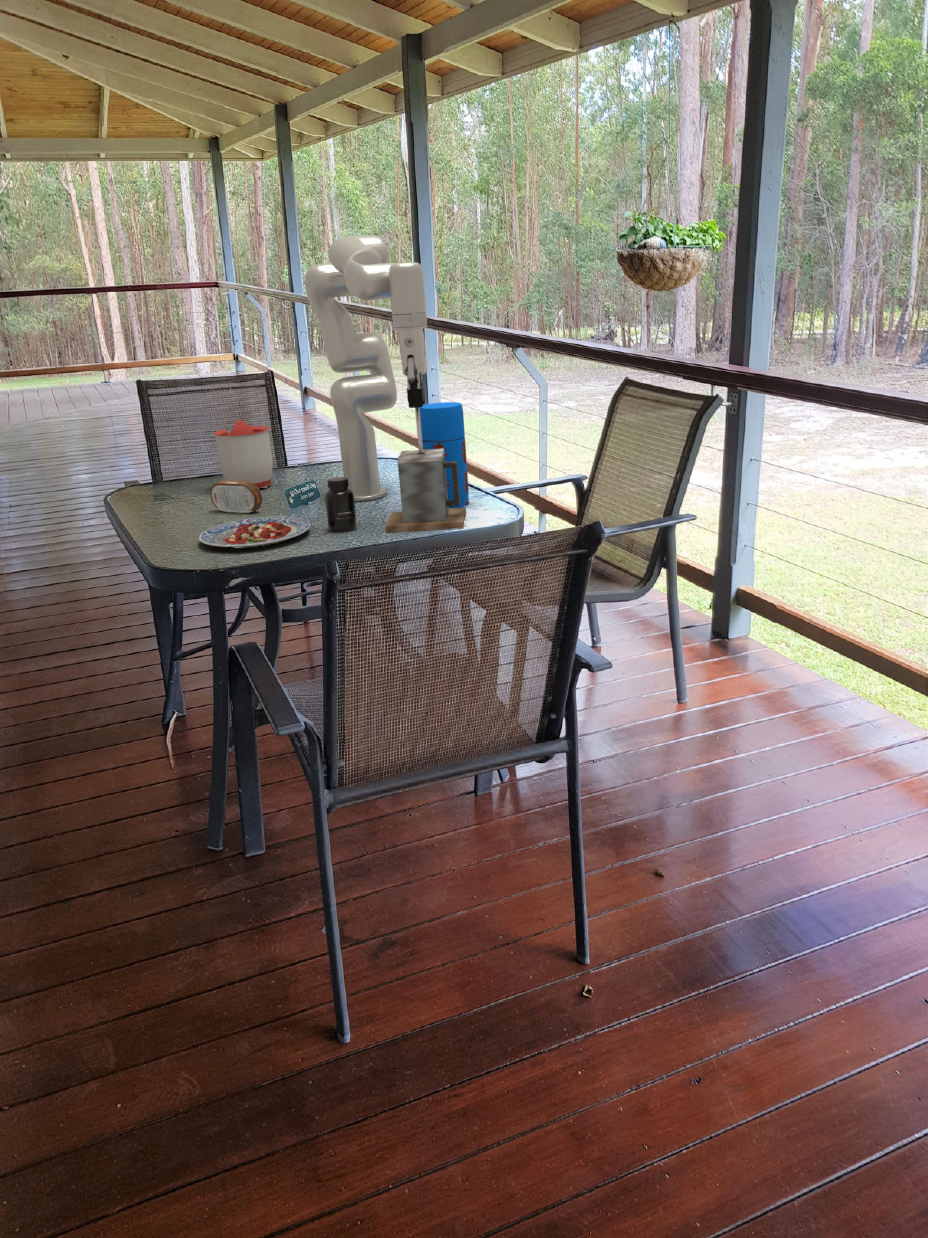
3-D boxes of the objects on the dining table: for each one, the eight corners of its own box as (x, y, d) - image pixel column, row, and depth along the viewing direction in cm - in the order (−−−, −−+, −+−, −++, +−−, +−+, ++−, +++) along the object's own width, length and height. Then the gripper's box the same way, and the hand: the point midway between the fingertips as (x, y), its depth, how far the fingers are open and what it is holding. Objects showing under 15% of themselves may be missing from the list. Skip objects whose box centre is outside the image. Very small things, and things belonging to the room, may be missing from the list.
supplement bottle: (345, 533, 224) (339, 482, 220) (322, 531, 228) (316, 481, 224) (363, 526, 230) (357, 476, 226) (340, 524, 233) (335, 475, 229)
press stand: (385, 532, 223) (378, 461, 217) (392, 517, 236) (386, 450, 230) (463, 528, 221) (458, 456, 216) (466, 513, 234) (461, 445, 229)
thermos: (464, 509, 238) (457, 407, 230) (422, 510, 240) (413, 409, 232) (472, 499, 248) (466, 401, 240) (432, 500, 250) (424, 403, 242)
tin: (264, 512, 252) (260, 480, 249) (257, 515, 249) (252, 483, 246) (218, 510, 258) (213, 479, 255) (211, 512, 255) (206, 481, 253)
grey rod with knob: (413, 479, 223) (405, 389, 216) (415, 475, 227) (407, 387, 220) (430, 478, 223) (423, 387, 216) (432, 474, 227) (424, 385, 220)
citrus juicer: (264, 479, 294) (254, 412, 287) (284, 487, 280) (275, 418, 273) (214, 487, 286) (203, 420, 280) (232, 497, 272) (221, 425, 265)
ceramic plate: (222, 527, 240) (220, 515, 239) (322, 522, 237) (321, 511, 236) (183, 556, 216) (181, 544, 215) (295, 552, 213) (293, 539, 212)
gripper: (423, 322, 205) (430, 410, 211) (429, 318, 221) (436, 400, 227) (388, 325, 205) (396, 412, 212) (397, 321, 221) (404, 402, 227)
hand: (416, 405), depth 219 cm, fingers closed on grey rod with knob, 4 cm apart
